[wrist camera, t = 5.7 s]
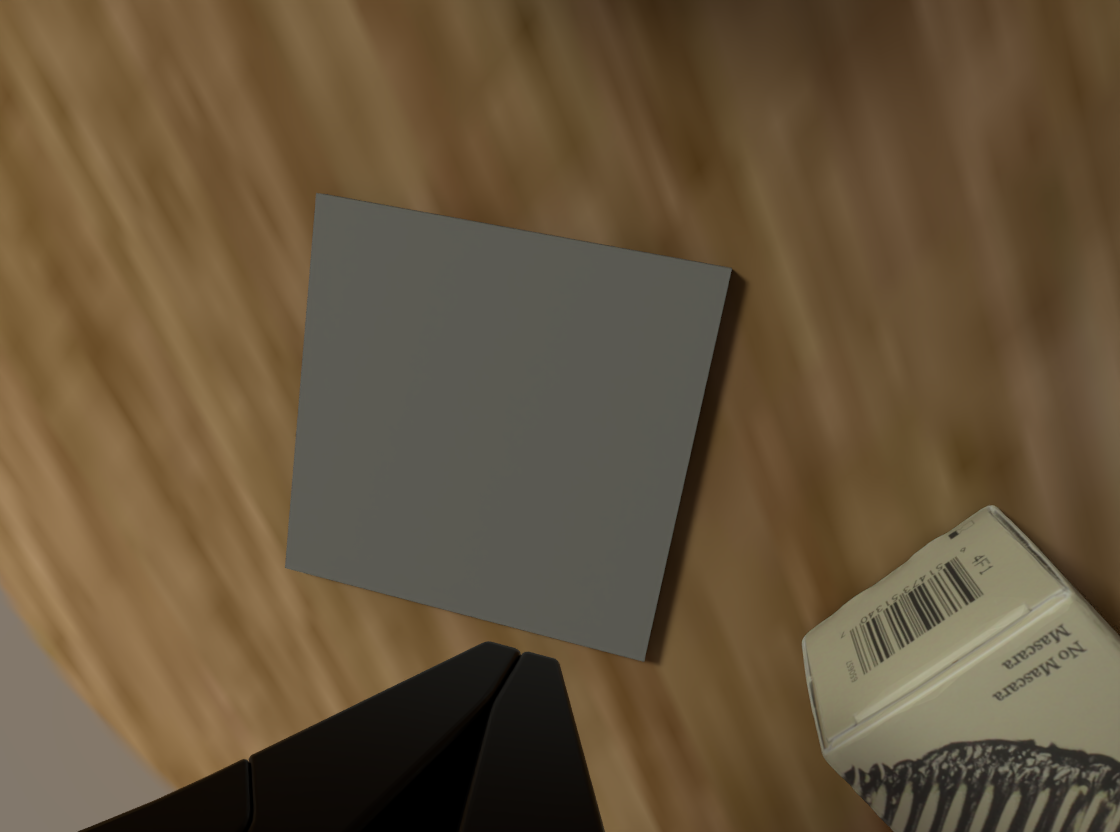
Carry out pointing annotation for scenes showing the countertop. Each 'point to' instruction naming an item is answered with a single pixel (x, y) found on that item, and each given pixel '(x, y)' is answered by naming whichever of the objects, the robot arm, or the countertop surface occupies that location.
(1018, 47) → the countertop surface
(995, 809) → the box
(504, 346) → the mat
